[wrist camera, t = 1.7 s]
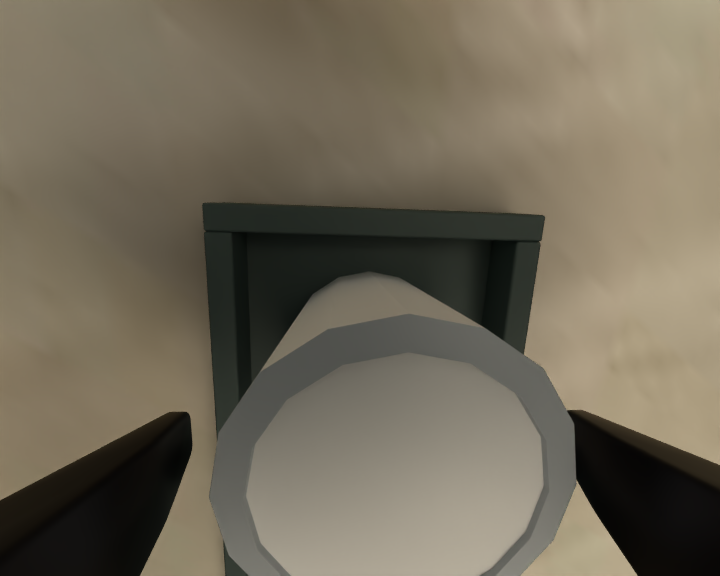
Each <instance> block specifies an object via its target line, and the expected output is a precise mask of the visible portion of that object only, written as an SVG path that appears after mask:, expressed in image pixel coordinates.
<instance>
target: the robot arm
mask: <svg viewBox="0 0 720 576" xmlns="http://www.w3.org/2000/svg"><path fill="white" fill-rule="evenodd" d="M567 412H568V414H569V416H570V417H571V419H572V421H573V423H574V432H575V460H576V479H577V481H578V483H579V485H580V487H581V488H582V490H583V492H584V494H585V496H586V497H587V499H588V501H589V503H590V504H591V506H592V508H593V509H594V511H595V513H596V514H597V516H598V517H599V519H600V520H601V522H602V523H603V525H604V526H605V528H606V529H607V531H608V532H609V534H610V535H611V537H612V538H613V540H614V541H615V543H616V544H617V546H618V547H619V549H620V550H621V552H622V553H623V555H624V556H625V557H626V559H627V560H628V562H629V563H630V565H631V566H632V568H633V569H634V571H635V572H636V574H637V575H638V576H720V465H718V464H716V463H713V462H711V461H708V460H706V459H703V458H701V457H698V456H696V455H693V454H691V453H688V452H686V451H683V450H681V449H678V448H676V447H673V446H671V445H668V444H666V443H663V442H661V441H658V440H656V439H653V438H651V437H648V436H646V435H643V434H641V433H638V432H636V431H634V430H631V429H629V428H626V427H624V426H621V425H619V424H616V423H614V422H611V421H609V420H606V419H604V418H601V417H599V416H596V415H594V414H591V413H589V412H586V411H583V410H567ZM191 451H192V432H191V419H190V415H189V414H188V413H187V412H169V413H166V414H165V415H163V416H161V417H159V418H157V419H155V420H153V421H151V422H149V423H147V424H145V425H144V426H142V427H140V428H138V429H136V430H134V431H132V432H130V433H128V434H126V435H124V436H122V437H121V438H119V439H117V440H115V441H113V442H111V443H109V444H107V445H105V446H103V447H101V448H100V449H98V450H96V451H94V452H92V453H90V454H88V455H86V456H84V457H82V458H80V459H79V460H77V461H75V462H73V463H71V464H69V465H67V466H65V467H63V468H61V469H59V470H57V471H56V472H54V473H52V474H50V475H48V476H46V477H44V478H42V479H40V480H38V481H36V482H35V483H33V484H31V485H29V486H27V487H25V488H23V489H21V490H19V491H17V492H15V493H14V494H12V495H10V496H8V497H6V498H4V499H2V500H0V576H140V574H141V572H142V570H143V568H144V566H145V564H146V562H147V560H148V558H149V556H150V554H151V552H152V550H153V548H154V545H155V543H156V541H157V539H158V537H159V535H160V533H161V531H162V529H163V527H164V524H165V522H166V520H167V517H168V515H169V512H170V510H171V507H172V504H173V502H174V499H175V496H176V493H177V491H178V488H179V485H180V483H181V480H182V477H183V474H184V472H185V469H186V466H187V463H188V461H189V458H190V455H191Z"/></svg>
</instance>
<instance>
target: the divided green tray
mask: <svg viewBox="0 0 720 576" xmlns="http://www.w3.org/2000/svg"><path fill="white" fill-rule="evenodd" d="M202 208H203V224H204V230H205V231H206V232H205V233H204V240H205V256H206V272H207V288H208V304H209V320H210V336H211V352H212V367H213V383H214V399H215V415H216V431H217V441H218V434H219V431H220V430H221V428H222V427H223V425H224V424H225V422H226V421H227V419H228V418H229V417H230V415H231V414H232V412H233V411H234V409H235V408H236V406H237V405H238V403H239V402H240V400H241V399H242V397H243V396H244V394H245V393H246V391H247V390H248V389H249V387H250V386H251V384H252V383H253V381H254V380H255V378H256V377H257V375H258V374H259V372H260V371H261V369H262V368H263V366H264V365H265V363H266V362H267V361H268V359H269V358H270V356H271V355H272V353H273V352H274V350H275V349H276V347H277V346H278V344H279V343H280V341H281V340H282V338H283V337H284V335H285V334H286V333H287V331H288V330H289V328H290V327H291V325H292V324H293V322H294V321H295V319H296V318H297V316H298V315H299V313H300V312H301V310H302V309H303V308H304V306H305V305H306V303H307V302H308V300H309V299H310V297H311V296H312V294H313V293H315V292H317V291H318V290H320V289H321V288H323V287H324V286H326V285H327V284H329V283H331V282H332V281H334V280H335V279H337V278H338V277H342V276H348V275H353V274H358V273H364V272H369V271H370V272H375V273H379V274H384V275H389V276H394V277H399V278H401V279H403V280H404V281H406V282H408V283H409V284H411V285H413V286H414V287H416V288H418V289H420V290H421V291H423V292H425V293H426V294H428V295H430V296H431V297H433V298H435V299H437V300H438V301H440V302H442V303H443V304H445V305H447V306H448V307H450V308H452V309H454V310H455V311H457V312H459V313H460V314H462V315H464V316H465V317H467V318H469V319H471V320H472V321H474V322H476V323H477V324H479V325H481V326H482V327H484V328H486V329H487V330H489V331H490V332H492V333H493V334H494V335H496V336H497V337H499V338H500V339H502V340H503V341H505V342H506V343H507V344H509V345H510V346H512V347H513V348H515V349H516V350H517V351H519V352H520V353H522V354H523V355H524V349H525V343H526V336H527V330H528V323H529V317H530V310H531V304H532V297H533V291H534V284H535V278H536V271H537V264H538V258H539V251H540V242H539V241H541V240H542V234H543V227H544V221H545V216H543V215H532V214H516V213H492V212H465V211H439V210H412V209H385V208H359V207H332V206H305V205H279V204H252V203H225V202H223V203H203V205H202ZM223 544H224V560H225V576H248V574H247V573H246V572H245V571H244V570H243V569H242V568H241V567H240V566H239V565H238V564H237V563H236V562H235V561H234V560H233V559H232V558H231V557H230V556H229V554H228V552H227V549H226V546H225V543H224V540H223Z"/></svg>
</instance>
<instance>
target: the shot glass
mask: <svg viewBox="0 0 720 576" xmlns="http://www.w3.org/2000/svg"><path fill="white" fill-rule="evenodd" d="M575 486H576V460H575V432H574V423H573V421H572V419H571V417H570V416H569V414H568V412H567V410H566V408H565V407H564V405H563V403H562V401H561V399H560V397H559V396H558V394H557V392H556V390H555V388H554V387H553V385H552V383H551V381H550V379H549V378H548V376H547V374H546V372H545V370H544V369H543V368H542V367H541V366H539V365H538V364H536V363H535V362H533V361H532V360H530V359H529V358H528V357H526V356H525V355H523V354H522V353H520V352H519V351H517V350H516V349H515V348H513V347H512V346H510V345H509V344H507V343H506V342H505V341H503V340H502V339H500V338H499V337H497V336H496V335H494V334H493V333H492V332H490V331H489V330H487V329H486V328H484V327H482V326H481V325H479V324H477V323H476V322H474V321H472V320H471V319H469V318H467V317H465V316H464V315H462V314H460V313H459V312H457V311H455V310H454V309H452V308H450V307H448V306H447V305H445V304H443V303H442V302H440V301H438V300H437V299H435V298H433V297H431V296H430V295H428V294H426V293H425V292H423V291H421V290H420V289H418V288H416V287H414V286H413V285H411V284H409V283H408V282H406V281H404V280H403V279H401V278H399V277H394V276H389V275H384V274H379V273H375V272H370V271H369V272H364V273H358V274H353V275H348V276H342V277H338V278H337V279H335V280H334V281H332V282H331V283H329V284H327V285H326V286H324V287H323V288H321V289H320V290H318V291H317V292H315V293H313V294H312V296H311V297H310V299H309V300H308V302H307V303H306V305H305V306H304V308H303V309H302V310H301V312H300V313H299V315H298V316H297V318H296V319H295V321H294V322H293V324H292V325H291V327H290V328H289V330H288V331H287V333H286V334H285V335H284V337H283V338H282V340H281V341H280V343H279V344H278V346H277V347H276V349H275V350H274V352H273V353H272V355H271V356H270V358H269V359H268V361H267V362H266V363H265V365H264V366H263V368H262V369H261V371H260V372H259V374H258V375H257V377H256V378H255V380H254V381H253V383H252V384H251V386H250V387H249V389H248V390H247V391H246V393H245V394H244V396H243V397H242V399H241V400H240V402H239V403H238V405H237V406H236V408H235V409H234V411H233V412H232V414H231V415H230V417H229V418H228V419H227V421H226V422H225V424H224V425H223V427H222V428H221V430H220V431H219V434H218V441H217V447H216V454H215V461H214V467H213V474H212V481H211V488H210V494H209V499H210V502H211V505H212V508H213V510H214V513H215V516H216V519H217V522H218V525H219V528H220V531H221V534H222V537H223V540H224V543H225V546H226V549H227V552H228V554H229V556H230V557H231V558H232V559H233V560H234V561H235V562H236V563H237V564H238V565H239V566H240V567H241V568H242V569H243V570H244V571H245V572H246V573H247V574H248V576H520V575H521V574H522V573H523V572H524V571H525V570H526V569H527V568H528V567H529V566H530V565H531V564H532V562H533V561H534V560H535V559H536V558H537V557H538V556H539V555H540V554H541V553H542V552H543V551H544V550H545V549H546V548H547V546H548V545H549V544H550V543H551V542H552V541H553V540H554V537H555V535H556V533H557V530H558V528H559V525H560V523H561V520H562V518H563V516H564V513H565V511H566V508H567V506H568V503H569V501H570V499H571V496H572V494H573V491H574V489H575Z"/></svg>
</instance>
